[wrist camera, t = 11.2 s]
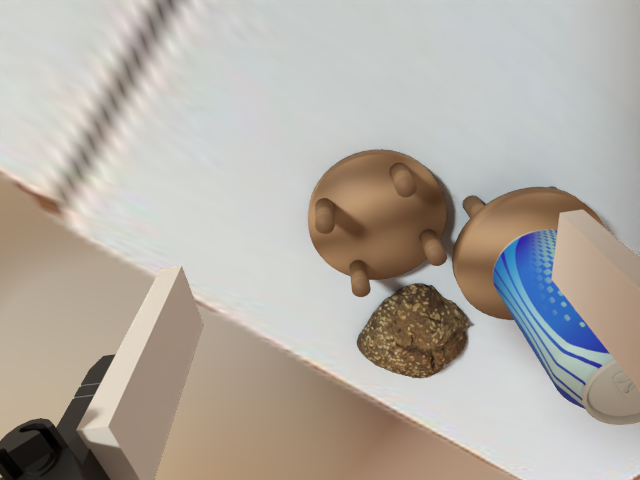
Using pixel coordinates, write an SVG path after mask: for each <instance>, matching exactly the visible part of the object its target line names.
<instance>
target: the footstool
mask: <svg viewBox="0 0 640 480" xmlns="http://www.w3.org/2000/svg"><path fill="white" fill-rule="evenodd" d="M463 208H464V210H465V211H466V213H467V214H468V215H469V217H470V219H469V220H468V222H467V223H466V224H465V226H464V227H463V229H462V230H461V232H460V234H459V236H458V238H457V241H456V243H455V246H454V250H453V257H452V265H453V272H454V276H455V278H456V281H457V283H458V285H459V287H460V289H461V291H462V293H463V295H464V296H465V298H466V299H467V300H468V301H469V303H470V304H471V305H473V306H474V307H475V308H476V309H478V310H479V311H481V312H483V313H485V314H487V315H489V316H492V317H496V318H500V319H506V320H514V318H513V317H512V315H511V313H510V312H509V310H508V308H507V307H506V305H505V304H504V302H503V300H502V299H501V297H500V295H499V294H498V292H497V290H496V288H495V286H494V283H493V269H494V266H495V263H496V261H497V259H498V257H499V255H500V253H501V251H502V250H503V249H504V247H505V246H506V245H507V244H508V243H509V242H511V241H512V240H513V239H515V238H516V237H518V236H520V235H522V234H525V233H527V232H531V231H537V230H545V229H553V230H558V223H559V215H560V213H561V212H568V211H576V210H584V211H586V212H587V213H588V214H589V215H590V216H591V217H593V218H594V219H595V220H596V221H597V222H598V223H599V224H601V225H602V226H603V224H602V222H601V220H600V219H599V217H598V216H597V215H596V213H595V212H594V211H593V210H592V209H591V208H589V207H588V206H587V205H585V204H584V203H583V202H582V201H580V200H579V199H578V198H576V197H575V196H573V195H571V194H569V193H568V192H565V191H562V190H559V189H557V188H556V187H530V188H524V189H519V190H516V191H512V192H509V193H507V194H504V195H502V196H500V197H498V198H496V199H494V200H492V201H490V202H489V203H488V204H486V205H484V204H483V203H482V202H481V200H480V199H479V198H478V197H477V196H469V197H467V198H466V199H465V200H464V201H463Z"/></svg>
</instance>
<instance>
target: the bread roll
mask: <svg viewBox="0 0 640 480" xmlns="http://www.w3.org/2000/svg"><path fill="white" fill-rule="evenodd" d="M466 327H469V325H468V324H467V318H466V316H465V315H464V314H463V312H462V311H461V310H460V309H459V308H458V307H457V306H456V304H455V303H453V302H452V301H451V300H447V299H445V298H443V297H442V296H441V295H440V294H439V293H438V292H437V291H436V290H435V288H434V287H433V286H432V285H430V286H428V285H424V284H411V285H409V286H405V287H404V288H403V289H401V290H399V291H398V292H396V293H394V294H393V295H392V296H391V297H388V298H386V299H385V300H384V301H383V302H382V304H381V305H379V307H378V308H377V309H376V310H375V311H374V312H373V314H372V316H371V318H370V319H369V321H368V323H367V325H366V326H365V327H364V329H363V330H362V332H361V333H360V335H359V337H358V340H357V346H358V348H359V350H360V351H361V352H362V354H363V355H364V356H365V357H366V358H367V359H368V360H370V361H371V362H373V363H374V365H377V366H379V367H381V368H384V369H386V370H389V371H391V372H393V373H394V372H395V373H397V374H402V375H405V376H409V377H411V376H412V378H427V377H431V376H432V375H434V374H436V373H438V372H439V371H440V370H441V369H443V365H444V364H448V363H449V362H450V361H451V360H453V359H454V358H456V357H457V355H459V354H461V351H462V350H463V348H464V346H465V343H466V340H467V337H466V334H465V328H466Z"/></svg>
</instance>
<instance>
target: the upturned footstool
mask: <svg viewBox="0 0 640 480" xmlns="http://www.w3.org/2000/svg"><path fill="white" fill-rule="evenodd" d="M446 217H447V216H446V203H445V199H444V196H443V193H442V191H441V189H440V187H439V185H438V183H437V182H436V180H435V179H434V177H433V176H432V174H431V173H430V172H429V171H428V170H427V169H426V167H425V166H423V165H422V164H421V163H420V162H418V161H417V160H415V159H413V158H412V157H410V156H408V155H405V154H403V153H400V152H396V151H391V150H369V151H363V152H359V153H356V154H353V155H351V156H348V157H346V158H344V159H342V160H341V161H339V162H338V163H336V164H335V165H334V166H332V167H331V168H330V169H329V170H328V171H327V172H326V173H325V174H324V175H323V176H322V178H321V179H320V180H319V182H318V183H317V185H316V187H315V189H314V191H313V194H312V196H311V200H310V204H309V215H308V225H309V232H310V237H311V240H312V243H313V245H314V247H315V249H316V250H317V252H318V253H319V255H320V256H321V257H322V258H323V259H324V260H325V261H326V262H327V263H328V264H329V265H330V266H332V267H333V268H335V269H336V270H338V271H339V272H342V273H344V274H346V275H349V276H351V284H352V292H353V294H354V295H356V296H358V297H364V296H366V295H368V294H369V292H370V284H369V280H379V279H387V278H391V277H395V276H398V275H401V274H403V273H406V272H408V271H410V270H412V269H413V268H415V267H416V266H418V265H419V264H420V263H422V262H423V261H424V260H425V259H426V258H428V261H429V263H430V264H432V265H434V266H439V265H442V264H443V263H445V261H446V260H447V254H446V252H445V250H444V248H443V246H442V244H441V242H440V239H441V237H442V235H443V232H444V228H445V225H446Z"/></svg>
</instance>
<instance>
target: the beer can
mask: <svg viewBox="0 0 640 480" xmlns="http://www.w3.org/2000/svg"><path fill="white" fill-rule="evenodd" d="M557 231H558V230H553V229H545V230H537V231H531V232H527V233H525V234H522V235H520V236H518V237H516V238H515V239H513V240H512V241H511V242H509V243H508V244H507V245H506V246H505V247H504V249H503V250H502V251H501V253H500V255H499V257H498V259H497V261H496V263H495V266H494V269H493V283H494V286H495V288H496V290H497V292H498V294H499V295H500V297H501V299H502V300H503V302H504V304H505V305H506V307H507V308H508V310H509V312H510V313H511V315H512V317H513V318H514V320H515V322H516V323H517V325H518V326H519V328H520V330H521V331H522V333H523V335H524V336H525V338H526V339H527V341H528V343H529V344H530V346H531V348H532V349H533V351H534V353H535V354H536V356H537V357H538V359H539V361H540V362H541V364H542V366H543V367H544V369H545V371H546V372H547V374H548V375H549V377H550V379H551V380H552V382H553V384H554V385H555V387H556V388H557V390H558V391H559V392H560V394H561V395H562V396H563V397H564V398H566V399H567V400H568V401H570V402H572V403H574V404H576V405H578V406H580V407H582V408H584V409H586V410H587V412H588V413H589V414H590V415H591V416H592V417H594V418H595V419H597V420H599V421H601V422H604V423H608V424H617V425H623V424H633V423H638V422H640V391H639V390H638V389H637V387H636V386H635V385H634V384H633V382H632V381H631V380H630V378H629V377H628V376H627V375H626V373H625V372H624V371H623V370H622V368H621V367H620V366H619V364H618V363H617V362H616V361H615V359H614V358H613V357H612V356H611V354H610V353H609V352H608V351H607V349H606V348H605V347H604V345H603V344H602V343H601V342H600V340H599V339H598V338H597V337H596V335H595V334H594V333H593V331H592V330H591V329H590V328H589V326H588V325H587V324H586V323H585V321H584V320H583V319H582V317H581V316H580V315H579V314H578V312H577V311H576V310H575V309H574V307H573V306H572V305H571V303H570V302H569V301H568V300H567V298H566V297H565V296H564V295H563V293H562V292H561V291H560V289H559V288H558V287H557V286H556V284H555V283H554V282H553V281H552V279H551V278H552V270H553V262H554V254H555V246H556V238H557Z"/></svg>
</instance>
